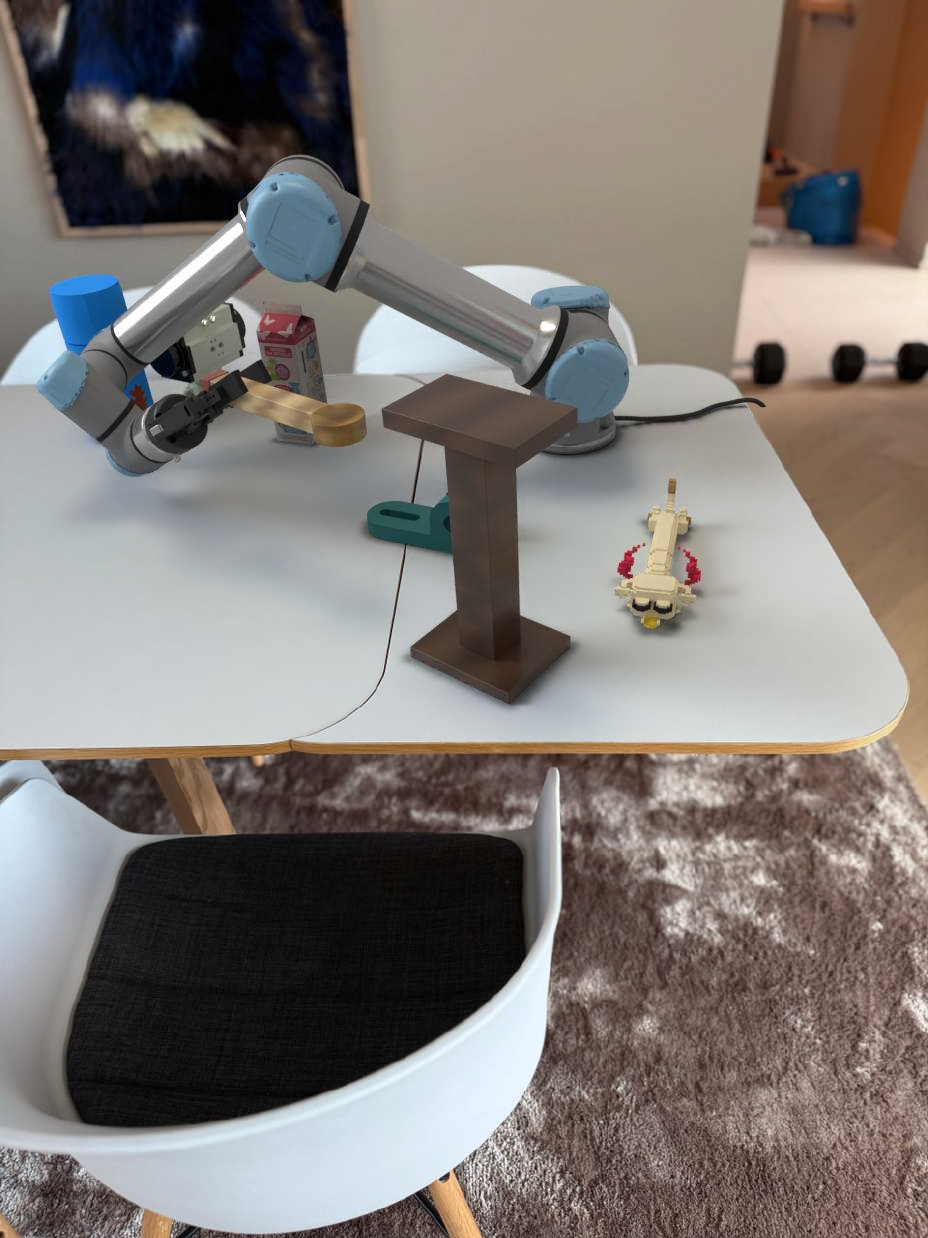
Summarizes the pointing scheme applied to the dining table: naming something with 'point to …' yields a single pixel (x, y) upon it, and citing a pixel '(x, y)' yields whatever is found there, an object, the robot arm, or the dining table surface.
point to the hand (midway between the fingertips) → (252, 376)
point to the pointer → (300, 411)
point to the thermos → (94, 320)
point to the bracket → (412, 524)
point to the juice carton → (291, 359)
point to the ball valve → (204, 349)
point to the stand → (485, 526)
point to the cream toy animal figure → (659, 568)
